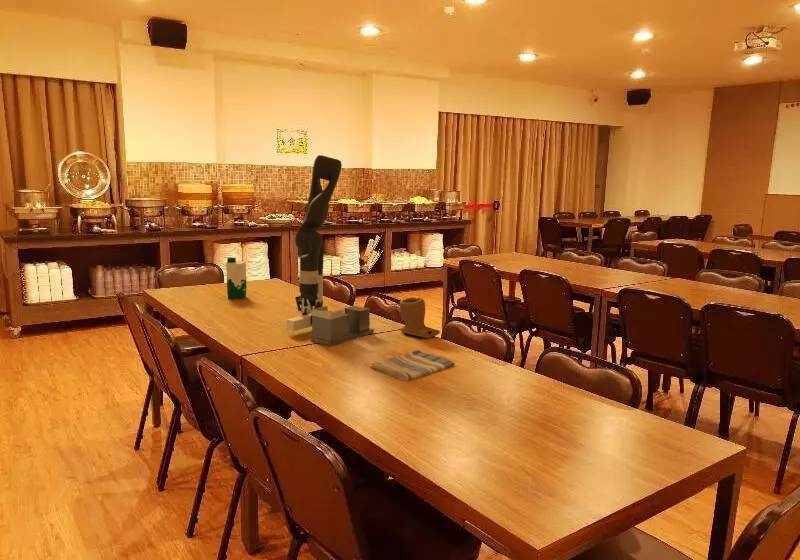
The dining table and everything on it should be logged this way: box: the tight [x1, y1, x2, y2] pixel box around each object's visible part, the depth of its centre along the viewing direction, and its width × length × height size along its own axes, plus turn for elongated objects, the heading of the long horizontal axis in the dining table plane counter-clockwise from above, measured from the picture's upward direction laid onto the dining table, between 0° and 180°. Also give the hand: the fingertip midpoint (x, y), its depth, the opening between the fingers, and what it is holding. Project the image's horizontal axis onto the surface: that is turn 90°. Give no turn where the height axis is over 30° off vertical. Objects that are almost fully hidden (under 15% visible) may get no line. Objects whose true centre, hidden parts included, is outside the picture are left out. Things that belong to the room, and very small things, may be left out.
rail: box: [285, 313, 312, 332], centre depth 244 cm, size 4×20×4 cm, turn 142°
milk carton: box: [225, 256, 247, 300], centre depth 301 cm, size 9×9×20 cm
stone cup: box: [398, 296, 441, 339], centre depth 240 cm, size 15×12×15 cm
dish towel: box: [370, 349, 455, 382], centre depth 202 cm, size 17×24×3 cm
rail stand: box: [310, 305, 375, 347], centre depth 235 cm, size 10×25×12 cm, turn 143°
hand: (309, 323), depth 244 cm, fingers closed on rail, 4 cm apart
